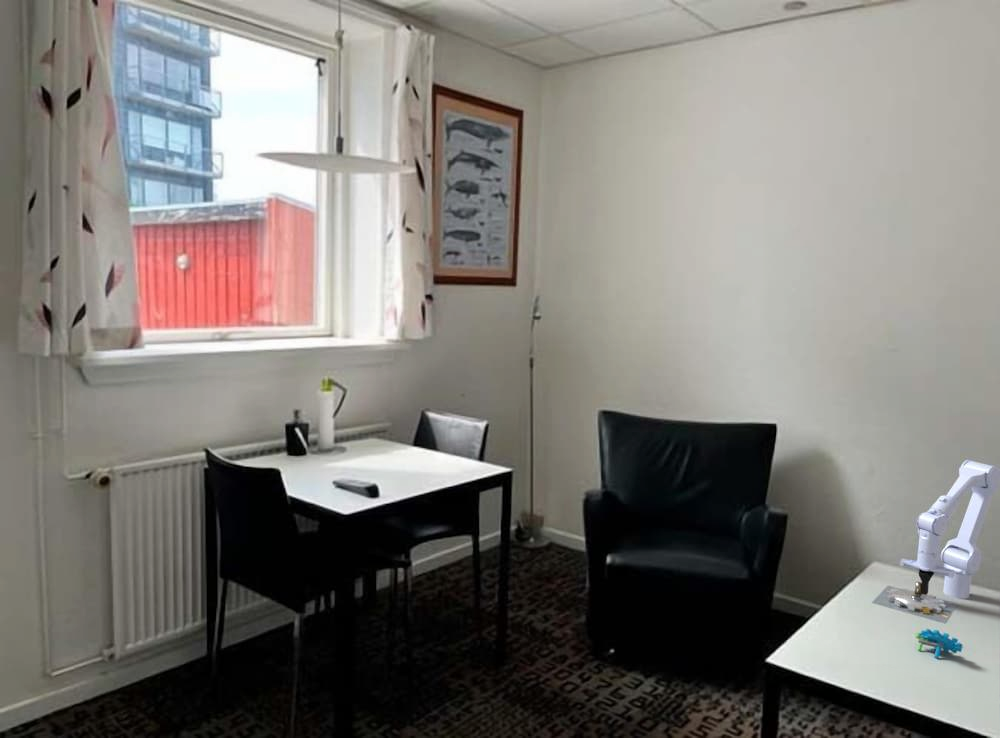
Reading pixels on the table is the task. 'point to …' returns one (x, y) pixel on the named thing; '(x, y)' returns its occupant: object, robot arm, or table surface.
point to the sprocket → (915, 600)
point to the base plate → (939, 617)
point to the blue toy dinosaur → (938, 641)
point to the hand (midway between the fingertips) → (924, 593)
